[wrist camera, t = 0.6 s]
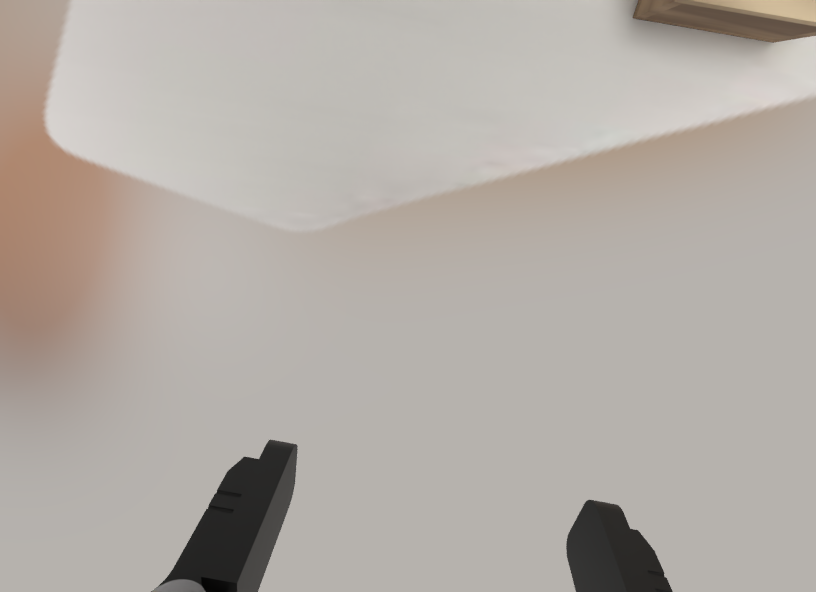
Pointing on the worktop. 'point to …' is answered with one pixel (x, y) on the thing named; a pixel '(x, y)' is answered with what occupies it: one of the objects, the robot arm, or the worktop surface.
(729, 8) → the lid
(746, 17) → the tea box
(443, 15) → the worktop surface
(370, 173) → the worktop surface
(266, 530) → the robot arm
